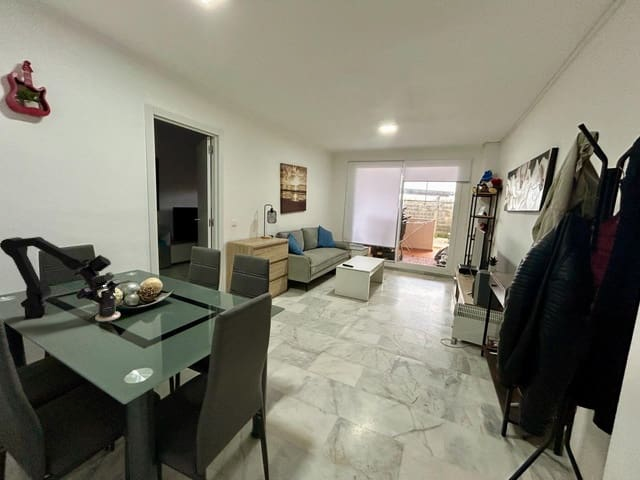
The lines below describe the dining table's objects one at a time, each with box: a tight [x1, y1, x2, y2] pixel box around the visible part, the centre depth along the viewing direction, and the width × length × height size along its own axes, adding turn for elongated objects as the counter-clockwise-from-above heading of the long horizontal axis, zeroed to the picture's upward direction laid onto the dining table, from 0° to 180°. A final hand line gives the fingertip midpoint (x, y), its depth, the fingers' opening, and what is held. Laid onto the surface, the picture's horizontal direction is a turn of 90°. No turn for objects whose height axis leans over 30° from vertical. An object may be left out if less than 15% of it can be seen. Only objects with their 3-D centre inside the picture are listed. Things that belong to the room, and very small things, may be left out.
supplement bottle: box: [97, 289, 117, 317], centre depth 135 cm, size 7×7×12 cm
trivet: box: [95, 311, 121, 322], centre depth 136 cm, size 10×10×1 cm
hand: (109, 301), depth 135 cm, fingers closed on supplement bottle, 6 cm apart
